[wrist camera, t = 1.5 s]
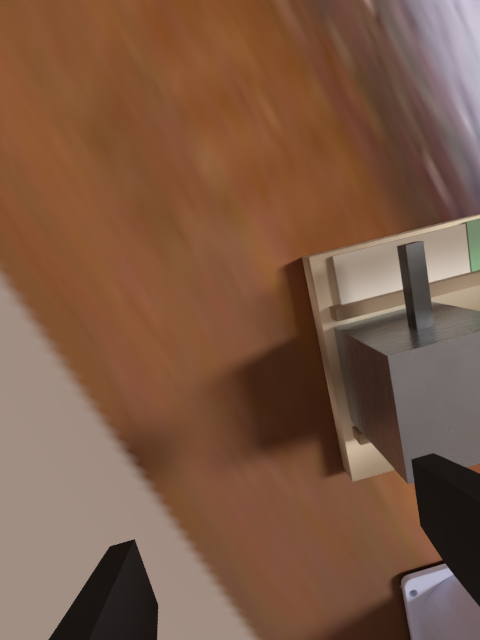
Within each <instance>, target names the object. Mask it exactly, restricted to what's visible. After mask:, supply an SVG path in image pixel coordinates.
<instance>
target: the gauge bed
mask: <svg viewBox="0 0 480 640" xmlns="http://www.w3.org/2000/svg"><path fill="white" fill-rule="evenodd" d="M417 241H423V242H424V249H425V257H426V265H427V273H428V280H429V288H430V296H431V302H436V303H441V304H446V305H452V306H457V307H462V308H467V309H472V310H478V311H480V214H476V215H472V216H468V217H464V218H459V219H455V220H451V221H447V222H443V223H439V224H435V225H431V226H427V227H423V228H419V229H415V230H411V231H407V232H403V233H399V234H395V235H390V236H386V237H382V238H378V239H374V240H370V241H366V242H362V243H358V244H354V245H350V246H346V247H342V248H338V249H334V250H330V251H326V252H321V253H317V254H313V255H309V256H305V257H302V261H303V266H304V271H305V276H306V281H307V286H308V291H309V296H310V301H311V306H312V311H313V316H314V321H315V326H316V331H317V336H318V341H319V346H320V351H321V356H322V361H323V366H324V371H325V376H326V381H327V386H328V391H329V396H330V401H331V406H332V411H333V416H334V421H335V426H336V431H337V436H338V441H339V446H340V451H341V456H342V461H343V467H344V469H345V471H346V472H347V474H348V475H349V477H350V478H351V480H352V481H357V480H361V479H364V478H368V477H371V476H375V475H378V474H382V473H385V472H389V471H392V470H395V469H394V468H393V467H392V466H391V464H390V463H389V462H388V461H387V460H386V459H385V458H384V457H383V456H382V454H381V453H380V452H379V451H378V450H377V449H376V448H375V447H374V445H373V444H372V443H371V442H370V441H369V440H368V439H367V438H366V437H365V435H364V434H363V433H362V432H361V431H360V430H359V429H358V428H357V427H356V425H355V424H354V423H353V422H352V421H351V416H350V411H349V406H348V400H347V395H346V390H345V385H344V379H343V374H342V369H341V363H340V358H339V353H338V347H337V342H336V337H335V331H334V327H336V326H340V325H344V324H347V323H351V322H355V321H359V320H363V319H367V318H371V317H375V316H378V315H382V314H386V313H390V312H394V311H398V310H402V309H405V308H406V306H405V299H404V292H403V285H402V278H401V272H400V265H399V258H398V251H397V246H399V245H403V244H407V243H411V242H417Z"/></svg>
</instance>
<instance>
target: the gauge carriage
mask: <svg viewBox="0 0 480 640" xmlns="http://www.w3.org/2000/svg"><path fill="white" fill-rule="evenodd" d="M397 251H398V258H399V265H400V272H401V278H402V285H403V292H404V299H405V306H406V308H405V309H402V310H398V311H394V312H390V313H386V314H382V315H378V316H375V317H371V318H367V319H363V320H359V321H355V322H351V323H347V324H344V325H340V326H336V327H334V331H335V337H336V342H337V347H338V353H339V358H340V363H341V369H342V374H343V379H344V385H345V390H346V395H347V400H348V406H349V411H350V416H351V421H352V422H353V423H354V424H355V425H356V427H357V428H358V429H359V430H360V431H361V432H362V433H363V434H364V435H365V437H366V438H367V439H368V440H369V441H370V442H371V443H372V444H373V445H374V447H375V448H376V449H377V450H378V451H379V452H380V453H381V454H382V456H383V457H384V458H385V459H386V460H387V461H388V462H389V463H390V464H391V466H392V467H393V468H394V469H395V470H396V471H397V472H398V473H399V474H400V476H401V477H402V478H403V479H404V480H405V481H406V482H407V483H408V484H410V483H413V482H414V476H413V469H412V462H411V459H414V458H418V457H421V456H425V455H428V454H432V453H434V454H437V455H439V456H442V457H444V458H446V459H448V460H451V461H453V462H455V463H457V464H459V465H462V466H464V467H469V466H473V465H476V464H480V311H478V310H472V309H467V308H462V307H457V306H452V305H446V304H441V303H436V302H431V296H430V288H429V280H428V273H427V265H426V257H425V249H424V242H423V241H417V242H411V243H407V244H403V245H399V246H397Z"/></svg>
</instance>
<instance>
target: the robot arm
mask: <svg viewBox="0 0 480 640" xmlns="http://www.w3.org/2000/svg"><path fill="white" fill-rule="evenodd" d="M411 462H412V469H413V476H414V483H415V490H416V497H417V504H418V511H419V518H420V525H421V527H422V529H423V530H424V532H425V533H426V535H427V536H428V538H429V539H430V541H431V543H432V544H433V546H434V547H435V549H436V550H437V552H438V553H439V555H440V556H441V558H442V559H443V561H444V562H445V564H441V565H438V566H435V567H431V568H428V569H425V570H421V571H418V572H415V573H411V574H408V575H406V576H404V577H403V578H402V581H401V586H402V592H403V597H404V603H405V609H406V614H407V620H408V626H409V631H410V637H411V640H480V474H479V473H477V472H475V471H472V470H470V469H468V468H466V467H464V466H462V465H459V464H457V463H455V462H453V461H451V460H448V459H446V458H444V457H442V456H439V455H437V454H434V453H432V454H428V455H425V456H421V457H418V458H414V459H411ZM157 621H158V603H157V601H156V598H155V595H154V592H153V590H152V587H151V584H150V581H149V578H148V575H147V573H146V570H145V567H144V564H143V561H142V559H141V556H140V553H139V551H138V547H137V545H136V542H135V539H134V540H131V541H127V542H124V543H120V544H117V545H113V546H110V547H109V549H108V550H107V552H106V553H105V555H104V556H103V558H102V559H101V561H100V562H99V564H98V565H97V567H96V568H95V570H94V572H93V573H92V575H91V576H90V578H89V579H88V581H87V582H86V584H85V585H84V587H83V588H82V590H81V591H80V593H79V595H78V596H77V598H76V599H75V601H74V602H73V604H72V605H71V607H70V608H69V610H68V612H67V613H66V614H65V616H64V617H63V619H62V620H61V622H60V623H59V625H58V627H57V628H56V629H55V631H54V633H53V634H52V635H51V637H50V638H49V640H157V624H158V622H157Z"/></svg>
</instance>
